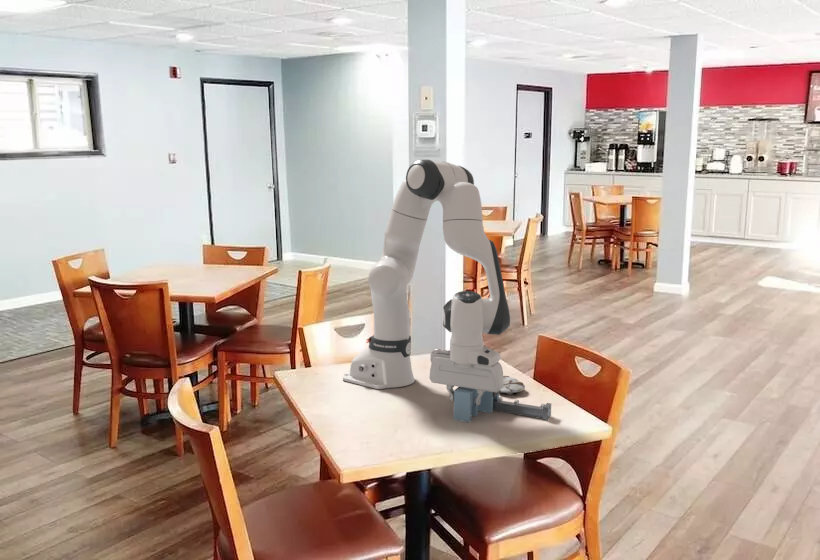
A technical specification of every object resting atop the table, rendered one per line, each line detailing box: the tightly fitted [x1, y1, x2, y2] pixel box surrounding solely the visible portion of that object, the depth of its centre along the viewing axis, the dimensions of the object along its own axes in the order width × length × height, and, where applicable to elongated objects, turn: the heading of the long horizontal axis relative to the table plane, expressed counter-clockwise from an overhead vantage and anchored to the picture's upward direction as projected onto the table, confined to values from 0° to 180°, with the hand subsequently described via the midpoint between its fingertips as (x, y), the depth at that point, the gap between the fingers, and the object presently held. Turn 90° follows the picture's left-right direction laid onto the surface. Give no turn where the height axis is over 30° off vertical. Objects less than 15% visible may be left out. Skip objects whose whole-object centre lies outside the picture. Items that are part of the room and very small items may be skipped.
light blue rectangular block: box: [478, 391, 501, 414], centre depth 209 cm, size 5×6×8 cm
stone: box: [499, 375, 526, 396], centre depth 225 cm, size 12×9×3 cm
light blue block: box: [452, 387, 479, 423], centre depth 202 cm, size 5×6×8 cm
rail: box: [493, 396, 552, 421], centre depth 207 cm, size 23×4×4 cm, turn 65°
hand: (465, 402), depth 202 cm, fingers open, 5 cm apart
